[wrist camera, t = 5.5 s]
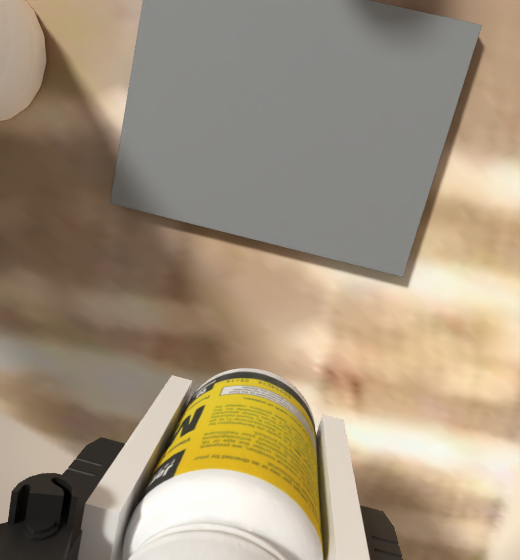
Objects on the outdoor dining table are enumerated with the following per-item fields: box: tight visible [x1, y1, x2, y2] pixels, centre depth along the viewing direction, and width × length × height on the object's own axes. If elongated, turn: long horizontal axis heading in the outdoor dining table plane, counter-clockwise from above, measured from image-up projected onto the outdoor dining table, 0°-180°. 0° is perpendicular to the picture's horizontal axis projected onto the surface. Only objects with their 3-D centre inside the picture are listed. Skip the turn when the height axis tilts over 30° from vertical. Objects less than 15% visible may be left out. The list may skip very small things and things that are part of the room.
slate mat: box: [110, 0, 482, 277], centre depth 24 cm, size 17×13×1 cm
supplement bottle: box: [122, 368, 323, 560], centre depth 12 cm, size 5×5×8 cm
